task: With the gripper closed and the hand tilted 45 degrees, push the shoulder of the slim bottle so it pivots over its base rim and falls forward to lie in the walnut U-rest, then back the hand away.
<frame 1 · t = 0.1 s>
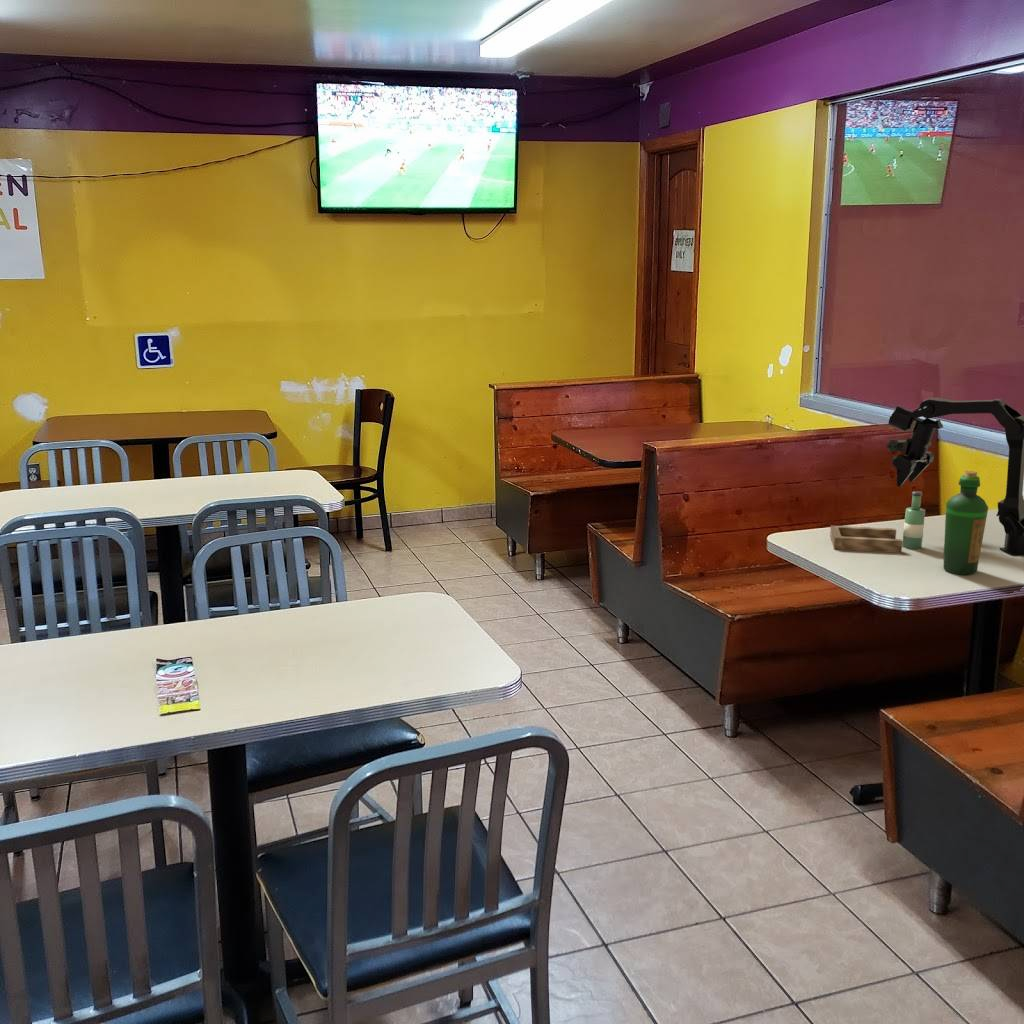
hand: (904, 483, 319), 15 cm above the table, tool pointing down, fingers open, 9 cm apart
cradle: (869, 544, 309), on the table
bottle: (911, 546, 307), on the table
bottle 2: (959, 571, 284), on the table
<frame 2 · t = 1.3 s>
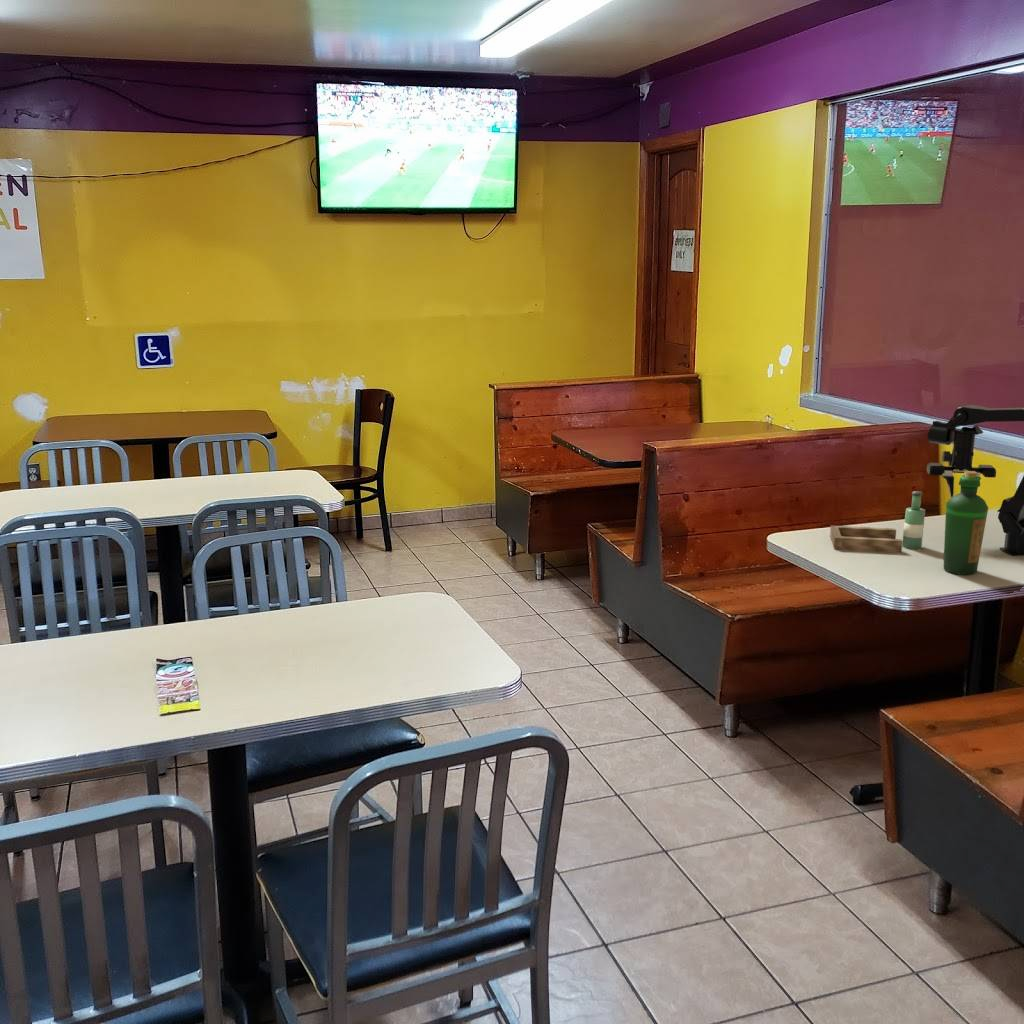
hand: (958, 497, 311), 13 cm above the table, tool pointing down, fingers open, 3 cm apart
nothing on the table moved.
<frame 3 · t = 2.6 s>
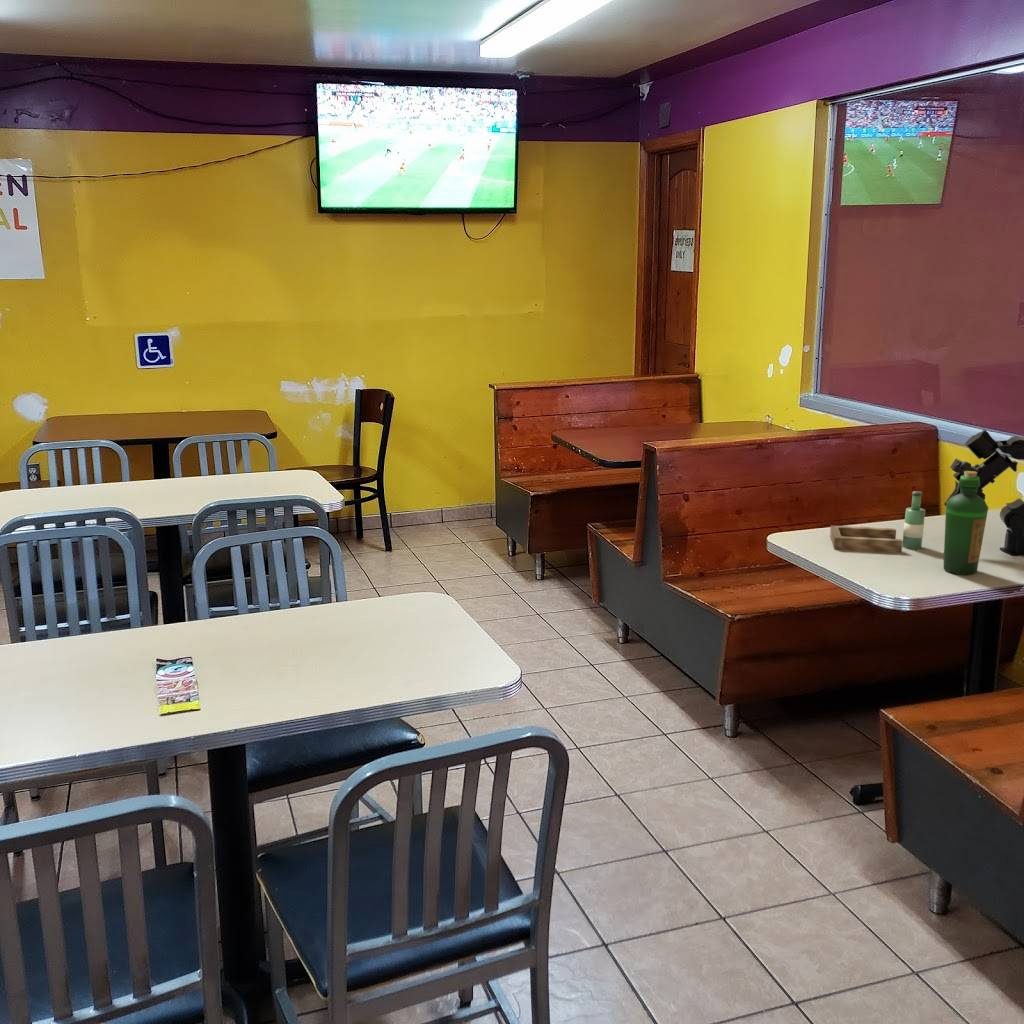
hand: (945, 505, 302), 13 cm above the table, tool tilted 45°, fingers closed
nothing on the table moved.
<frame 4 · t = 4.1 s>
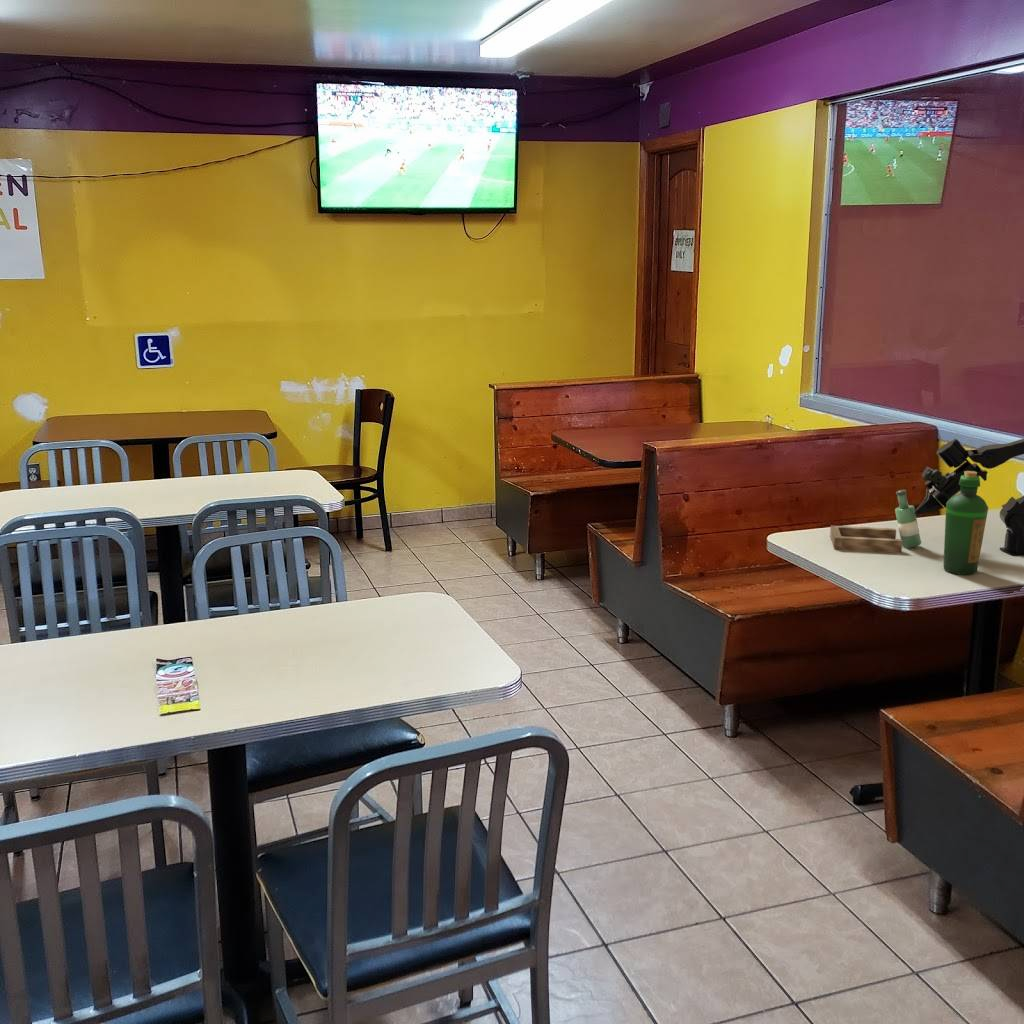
hand: (915, 513, 304), 10 cm above the table, tool tilted 45°, fingers closed
bottle: (911, 544, 306), point 1 cm above the table, tilted 16°
everything else where it was.
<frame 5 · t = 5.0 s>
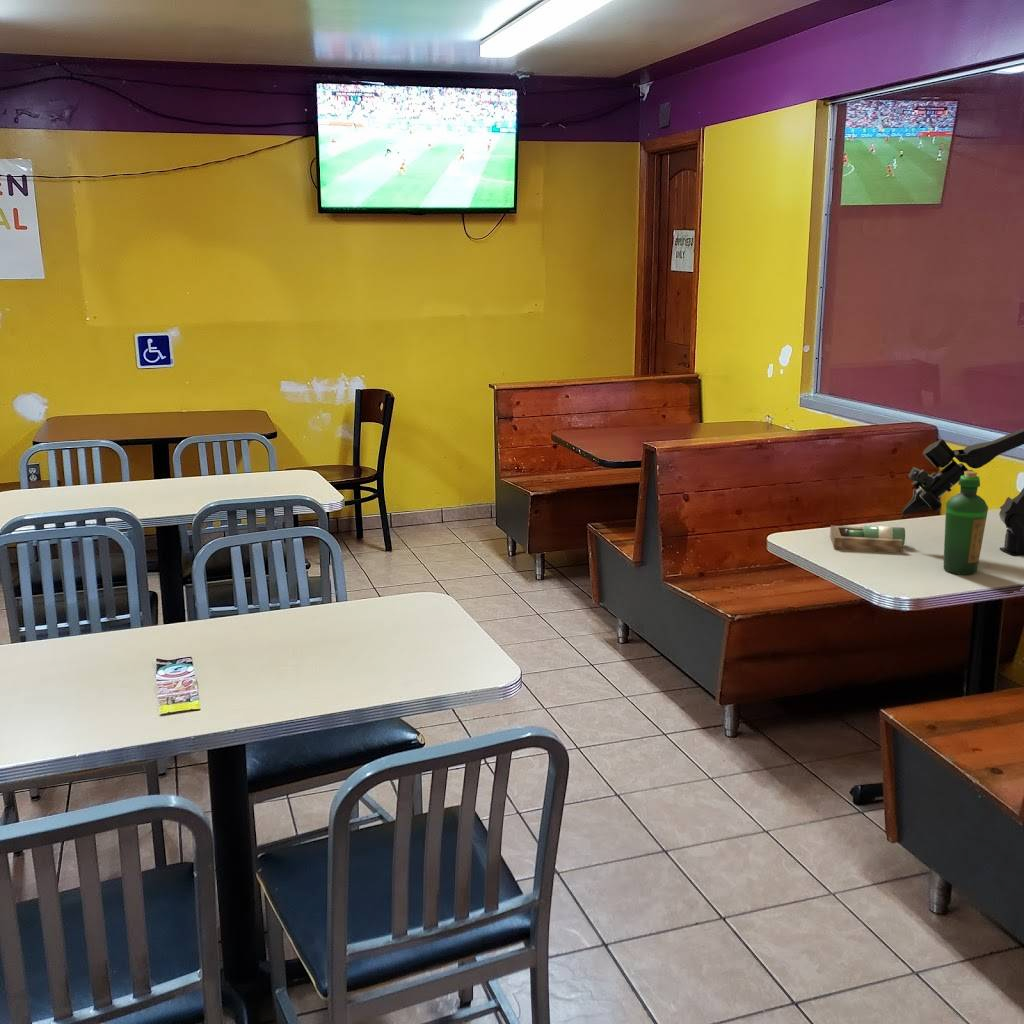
hand: (903, 513, 305), 10 cm above the table, tool tilted 45°, fingers closed
bottle: (903, 536, 306), point 3 cm above the table, tilted 90°, touching cradle
everything else where it was.
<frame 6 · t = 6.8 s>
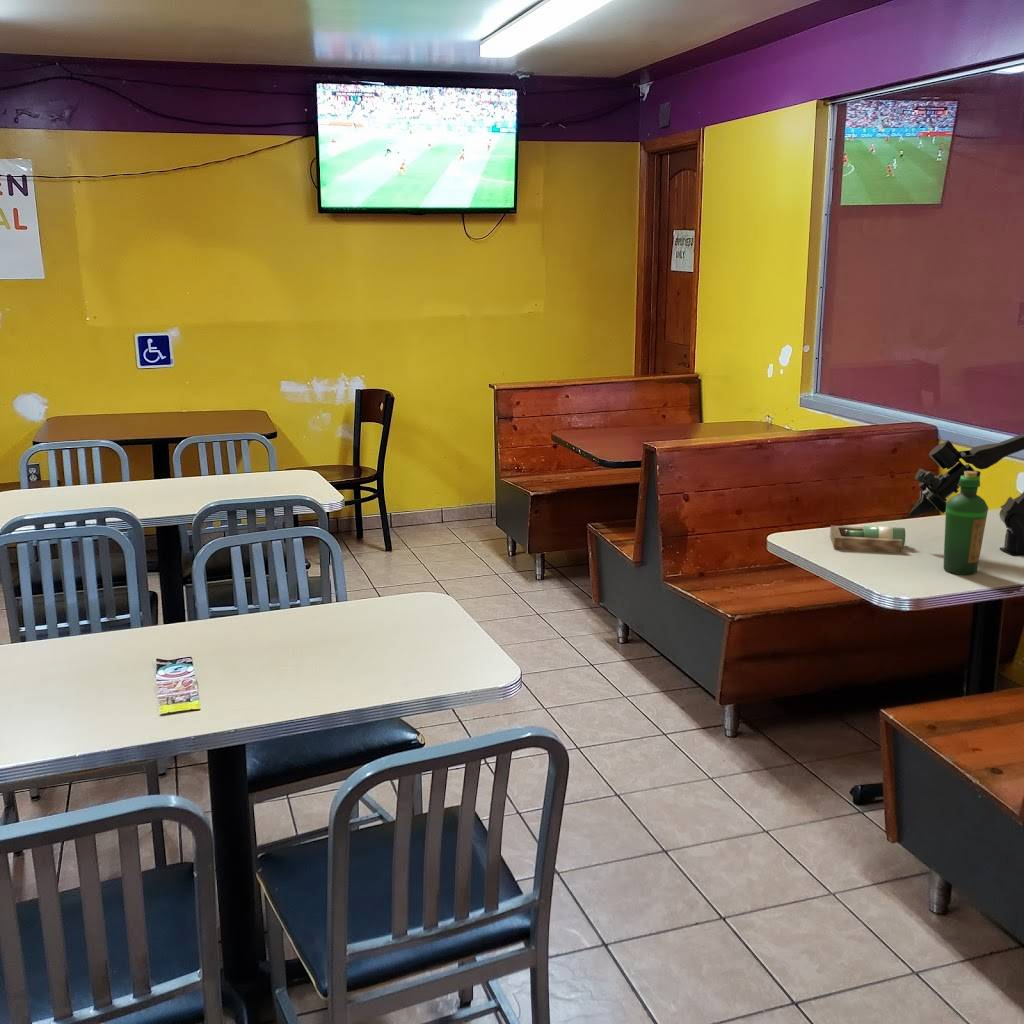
hand: (910, 515, 304), 10 cm above the table, tool tilted 45°, fingers closed
nothing on the table moved.
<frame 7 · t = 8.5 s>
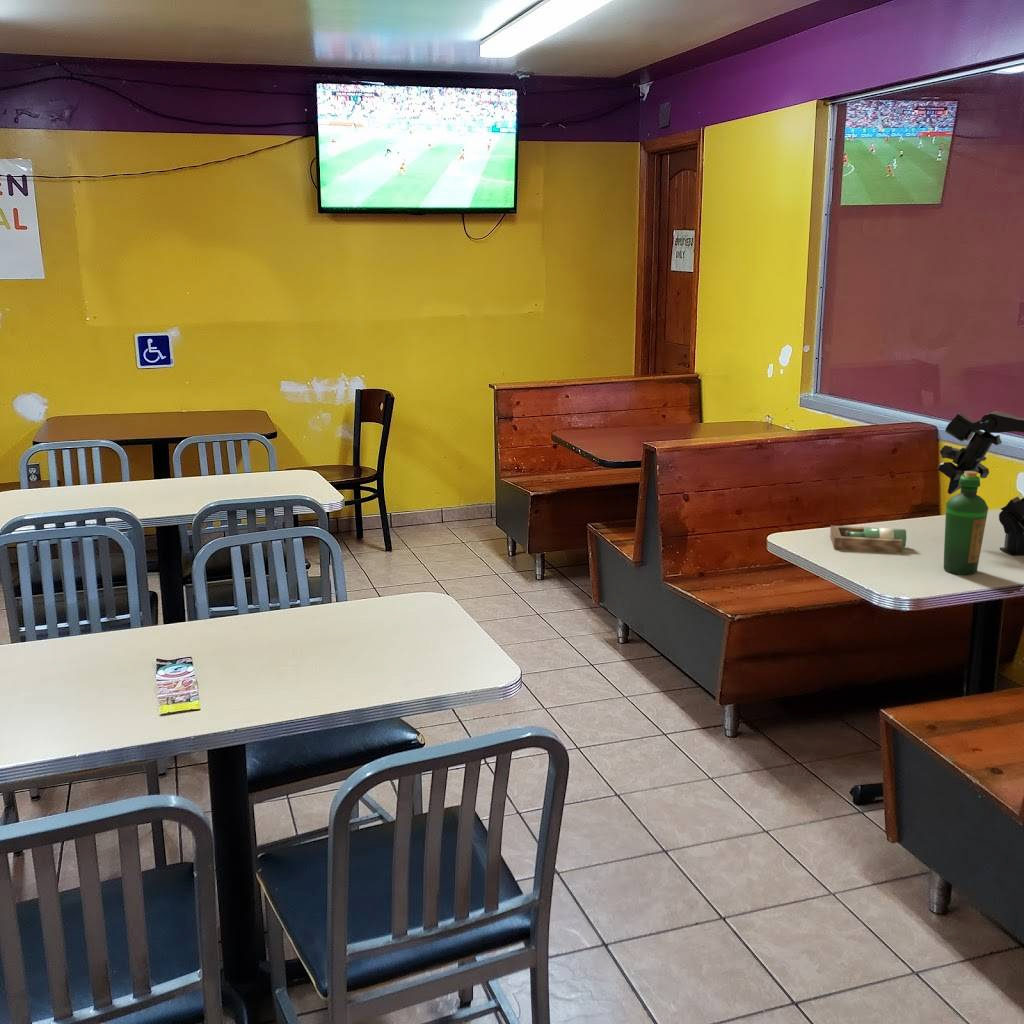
hand: (949, 493, 311), 14 cm above the table, tool tilted 25°, fingers closed
bottle: (904, 538, 304), point 3 cm above the table, tilted 90°, touching cradle
everything else where it was.
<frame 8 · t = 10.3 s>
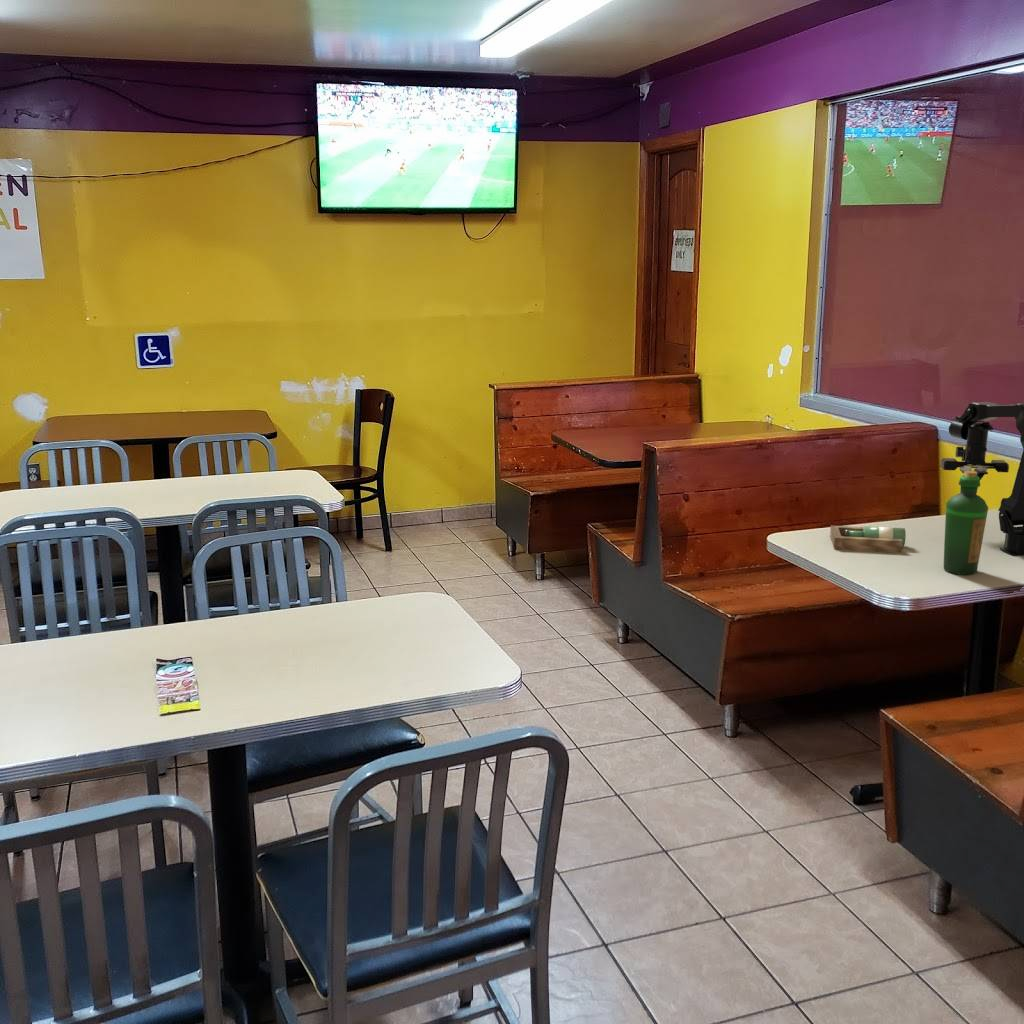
hand: (971, 492, 318), 13 cm above the table, tool pointing down, fingers closed
bottle: (903, 537, 306), point 3 cm above the table, tilted 90°, touching cradle
everything else where it was.
at the end: bottle tilted 90°; bottle inside the target area (4.4 cm from its centre), point 3.0 cm above the table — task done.
